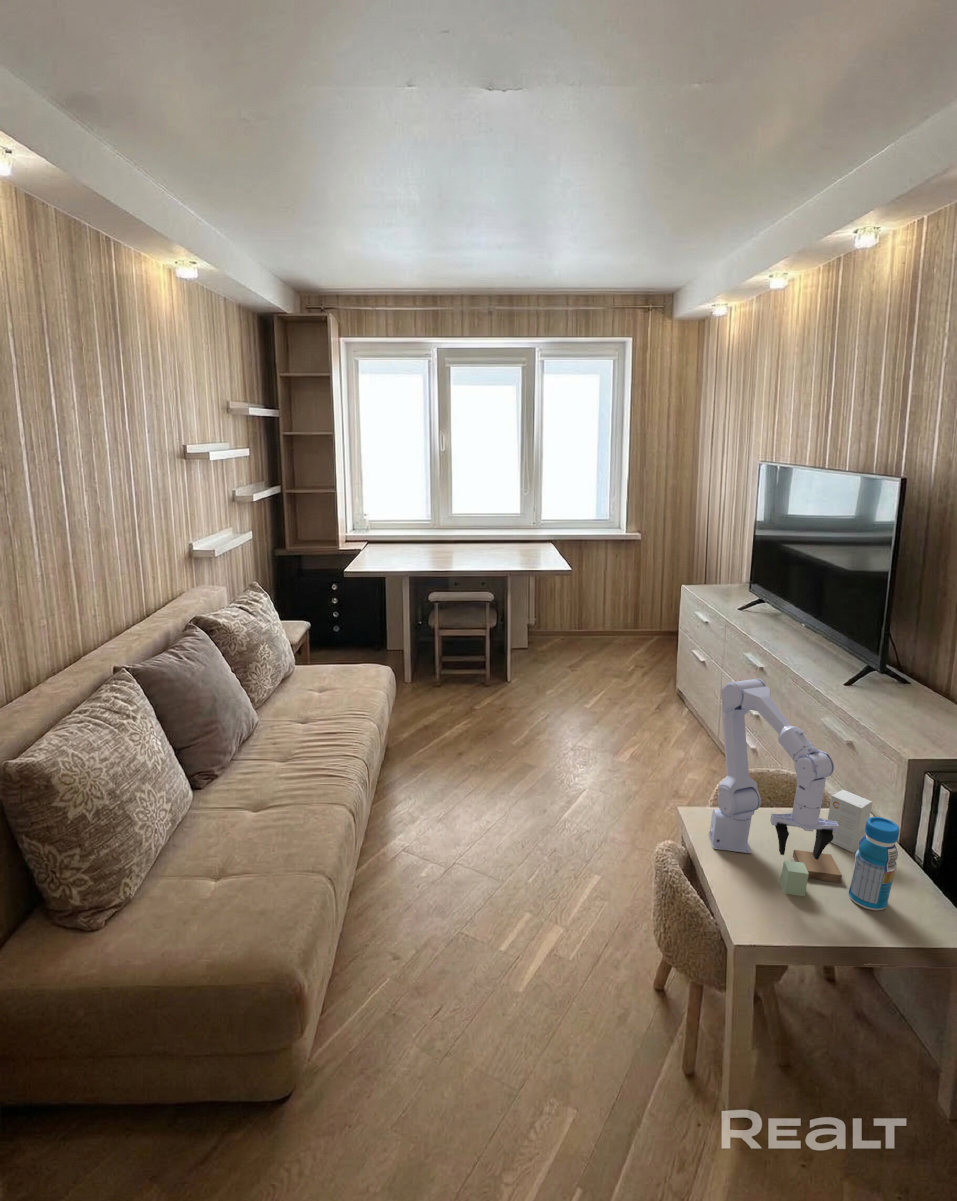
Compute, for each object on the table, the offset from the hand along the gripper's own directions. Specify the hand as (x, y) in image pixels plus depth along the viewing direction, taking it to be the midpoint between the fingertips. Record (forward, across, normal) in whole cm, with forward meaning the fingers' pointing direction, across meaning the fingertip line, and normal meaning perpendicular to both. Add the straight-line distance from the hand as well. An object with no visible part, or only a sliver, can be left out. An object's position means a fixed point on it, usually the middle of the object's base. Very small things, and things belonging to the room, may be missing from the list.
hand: (798, 854), depth 178 cm
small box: (+9, +19, +25) cm, 33 cm away
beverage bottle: (+9, +17, 0) cm, 19 cm away
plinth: (+9, +8, +10) cm, 16 cm away
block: (+9, 0, 0) cm, 9 cm away
